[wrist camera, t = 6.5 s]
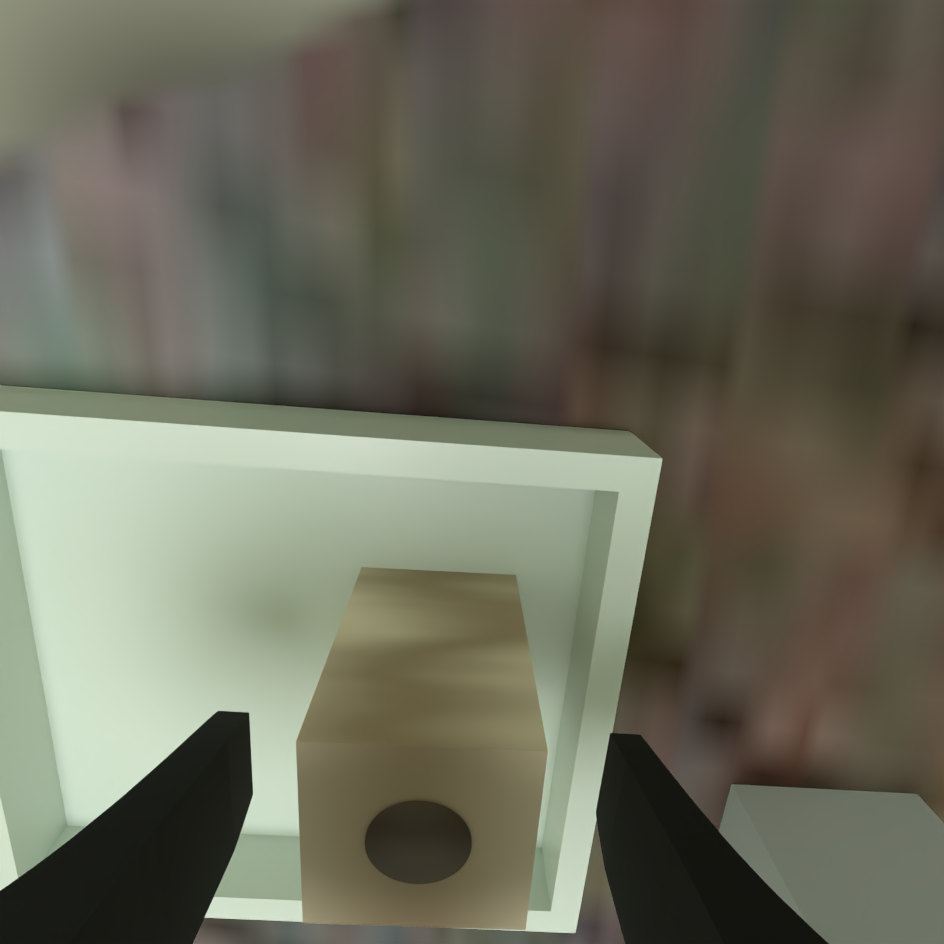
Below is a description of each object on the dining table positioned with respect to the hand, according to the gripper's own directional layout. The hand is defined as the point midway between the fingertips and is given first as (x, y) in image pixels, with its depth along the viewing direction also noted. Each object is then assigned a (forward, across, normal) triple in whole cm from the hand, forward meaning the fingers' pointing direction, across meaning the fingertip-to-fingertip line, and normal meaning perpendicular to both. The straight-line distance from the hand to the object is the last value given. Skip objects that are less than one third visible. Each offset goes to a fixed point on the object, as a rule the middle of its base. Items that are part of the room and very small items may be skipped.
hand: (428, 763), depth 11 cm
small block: (+4, 0, 0) cm, 4 cm away
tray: (+5, +4, +1) cm, 6 cm away
